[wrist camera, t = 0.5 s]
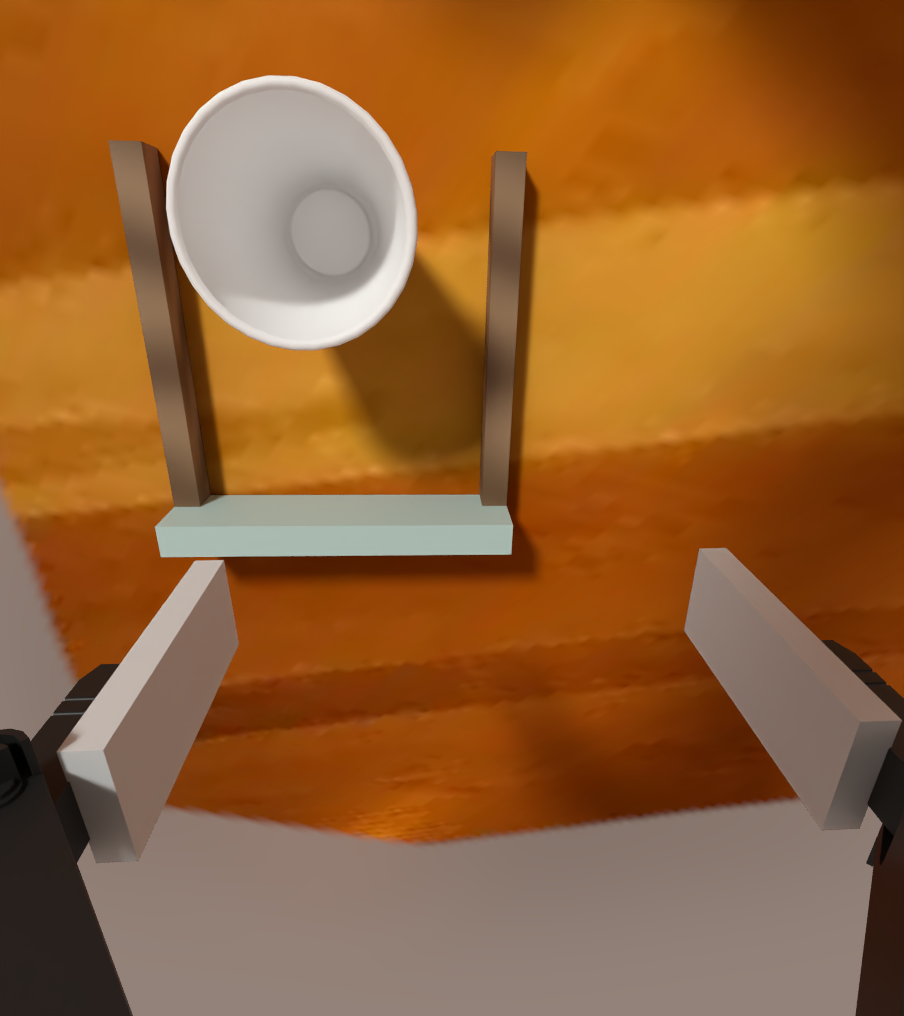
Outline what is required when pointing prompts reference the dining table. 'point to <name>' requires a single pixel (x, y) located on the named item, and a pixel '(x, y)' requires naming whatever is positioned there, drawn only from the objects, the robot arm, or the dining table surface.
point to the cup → (291, 213)
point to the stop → (336, 526)
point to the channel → (168, 335)
